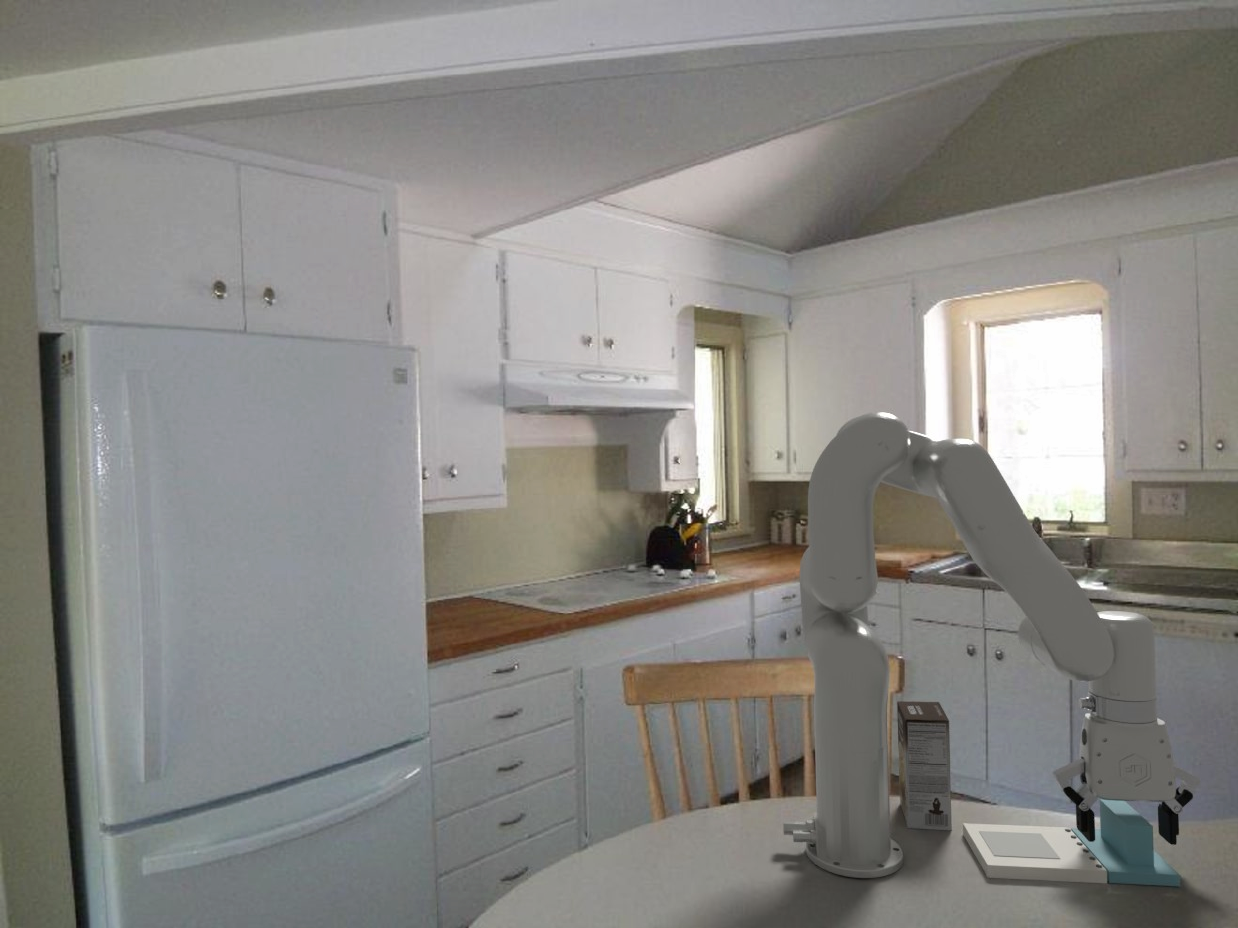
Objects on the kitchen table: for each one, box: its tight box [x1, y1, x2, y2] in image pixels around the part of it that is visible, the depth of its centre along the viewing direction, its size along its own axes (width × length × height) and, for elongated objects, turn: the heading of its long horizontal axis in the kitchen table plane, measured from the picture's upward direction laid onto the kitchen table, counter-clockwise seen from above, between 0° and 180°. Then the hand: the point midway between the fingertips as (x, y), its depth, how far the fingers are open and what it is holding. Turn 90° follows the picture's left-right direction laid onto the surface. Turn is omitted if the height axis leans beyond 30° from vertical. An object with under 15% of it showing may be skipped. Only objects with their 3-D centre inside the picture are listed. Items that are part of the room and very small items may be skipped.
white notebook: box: [962, 822, 1108, 884], centre depth 108 cm, size 14×12×2 cm
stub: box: [1070, 798, 1181, 887], centre depth 106 cm, size 8×12×6 cm, turn 171°
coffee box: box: [896, 700, 953, 831], centre depth 121 cm, size 9×6×16 cm
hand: (1127, 838), depth 106 cm, fingers open, 9 cm apart
